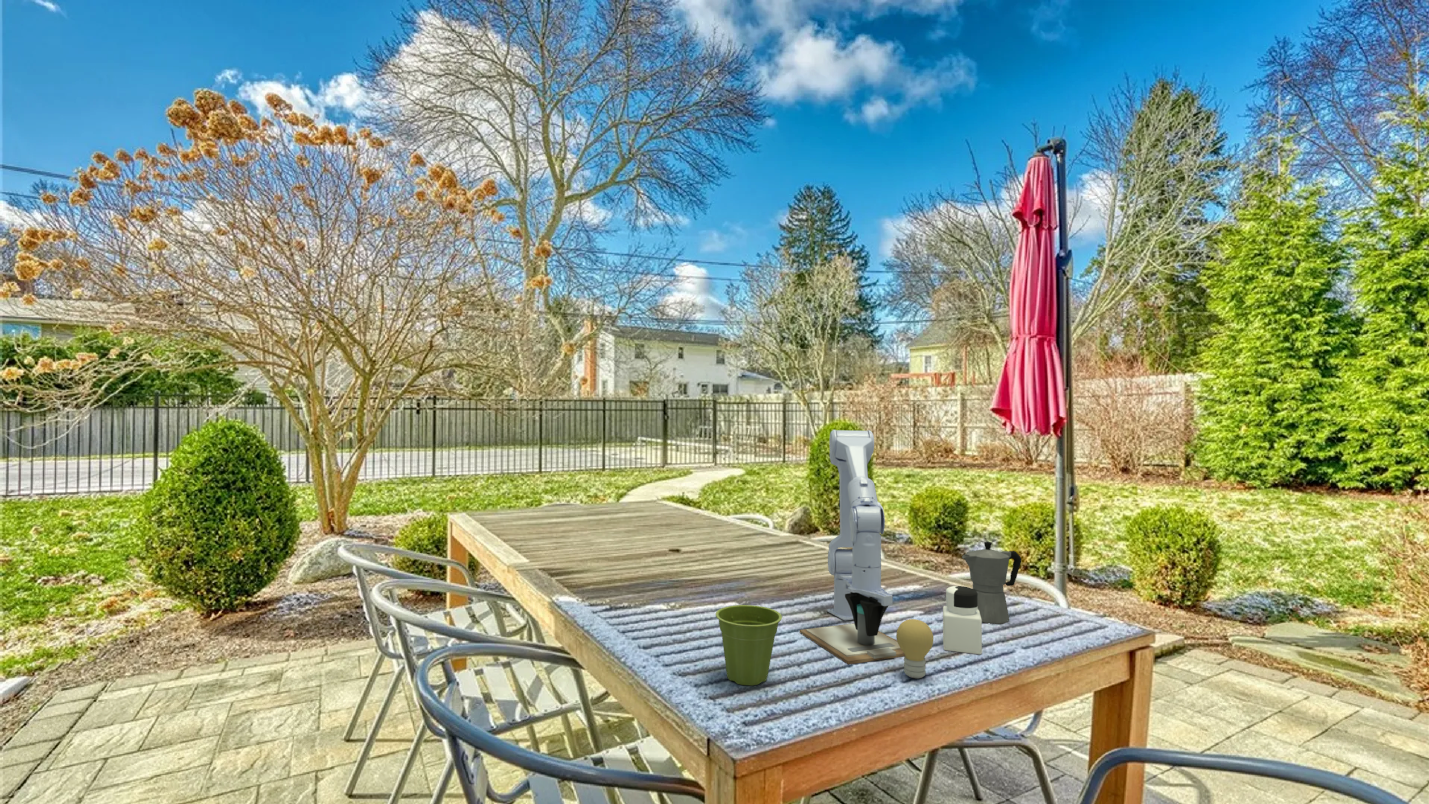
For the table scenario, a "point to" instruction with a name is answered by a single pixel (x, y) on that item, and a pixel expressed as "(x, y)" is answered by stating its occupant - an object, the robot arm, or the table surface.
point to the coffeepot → (992, 581)
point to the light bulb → (914, 646)
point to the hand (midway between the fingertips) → (866, 632)
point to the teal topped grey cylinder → (863, 629)
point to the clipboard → (853, 644)
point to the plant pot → (748, 641)
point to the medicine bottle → (962, 621)
